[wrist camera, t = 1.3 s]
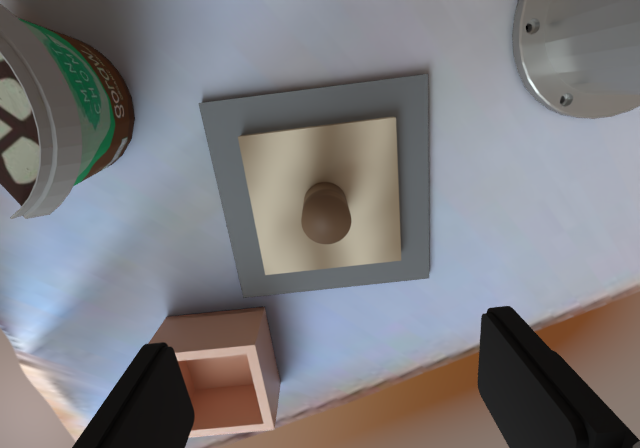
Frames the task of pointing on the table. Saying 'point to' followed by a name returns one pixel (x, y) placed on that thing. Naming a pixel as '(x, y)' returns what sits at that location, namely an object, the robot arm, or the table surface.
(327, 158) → the lid
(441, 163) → the table surface
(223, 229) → the table surface
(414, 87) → the mat
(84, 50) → the food container
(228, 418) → the open square bin
